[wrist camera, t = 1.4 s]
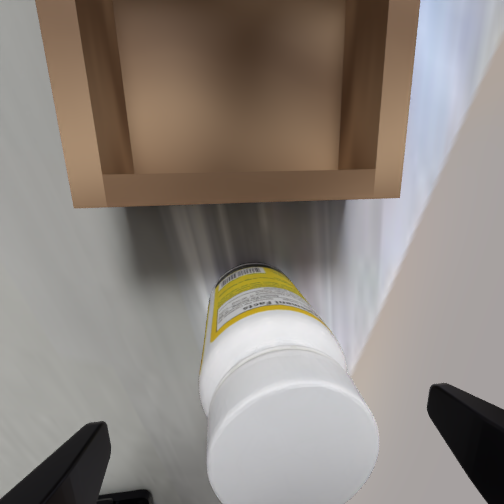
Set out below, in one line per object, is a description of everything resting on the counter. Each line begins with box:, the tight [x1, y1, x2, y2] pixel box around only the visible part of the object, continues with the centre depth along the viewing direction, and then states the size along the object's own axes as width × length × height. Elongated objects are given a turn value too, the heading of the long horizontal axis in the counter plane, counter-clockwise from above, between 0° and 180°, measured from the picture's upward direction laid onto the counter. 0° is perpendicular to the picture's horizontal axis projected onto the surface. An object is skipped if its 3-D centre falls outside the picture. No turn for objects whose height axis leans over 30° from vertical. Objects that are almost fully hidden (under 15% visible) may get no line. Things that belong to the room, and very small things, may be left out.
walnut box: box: [35, 0, 420, 208], centre depth 9 cm, size 11×11×4 cm
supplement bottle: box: [199, 263, 379, 504], centre depth 10 cm, size 5×5×8 cm
